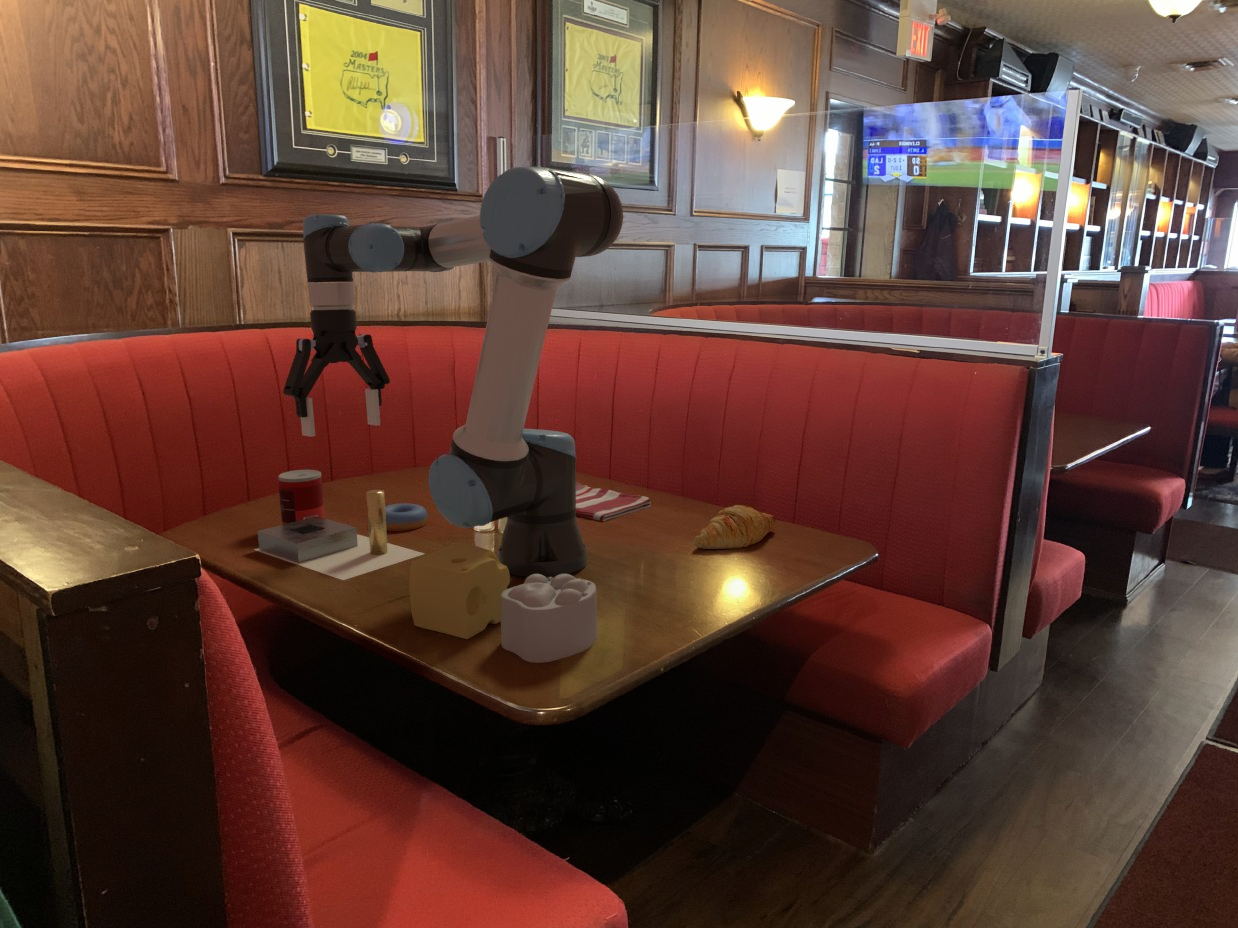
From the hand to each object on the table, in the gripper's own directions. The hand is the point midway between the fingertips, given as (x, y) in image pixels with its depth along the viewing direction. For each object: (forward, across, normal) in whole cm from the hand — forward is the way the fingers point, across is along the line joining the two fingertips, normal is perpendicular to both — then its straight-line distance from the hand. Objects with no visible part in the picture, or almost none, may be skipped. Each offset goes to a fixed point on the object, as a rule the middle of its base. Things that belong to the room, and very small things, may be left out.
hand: (342, 430), depth 158 cm
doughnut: (+22, -14, -3) cm, 26 cm away
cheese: (+23, +12, +42) cm, 49 cm away
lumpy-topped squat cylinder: (+23, +9, +57) cm, 62 cm away
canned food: (+21, -1, -16) cm, 26 cm away
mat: (+21, +4, +2) cm, 22 cm away
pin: (+21, 0, +8) cm, 23 cm away
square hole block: (+21, +6, -4) cm, 22 cm away
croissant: (+23, -46, +53) cm, 74 cm away
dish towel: (+22, -49, +15) cm, 56 cm away
